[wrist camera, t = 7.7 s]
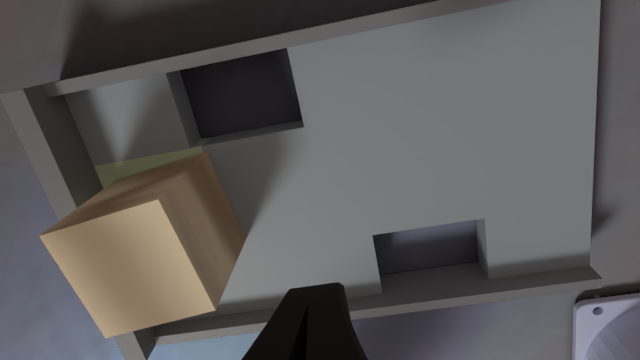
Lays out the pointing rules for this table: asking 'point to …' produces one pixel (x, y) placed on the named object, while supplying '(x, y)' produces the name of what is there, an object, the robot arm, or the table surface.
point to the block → (150, 246)
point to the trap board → (362, 156)
